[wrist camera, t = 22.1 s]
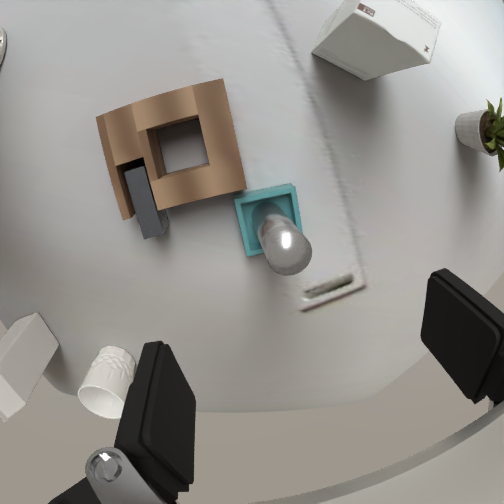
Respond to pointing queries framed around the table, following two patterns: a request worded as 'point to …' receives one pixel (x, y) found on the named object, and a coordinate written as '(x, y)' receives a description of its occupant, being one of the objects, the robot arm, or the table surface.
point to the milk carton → (23, 361)
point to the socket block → (147, 145)
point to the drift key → (145, 203)
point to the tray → (248, 201)
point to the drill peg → (280, 239)
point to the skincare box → (377, 37)
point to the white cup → (107, 382)
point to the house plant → (483, 131)
